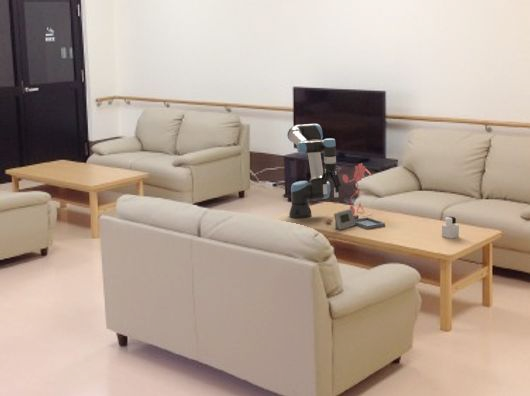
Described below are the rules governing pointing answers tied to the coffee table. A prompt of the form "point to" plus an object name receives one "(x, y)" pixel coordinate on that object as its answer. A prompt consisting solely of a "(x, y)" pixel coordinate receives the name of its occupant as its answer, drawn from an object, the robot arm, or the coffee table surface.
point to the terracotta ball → (328, 220)
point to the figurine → (360, 170)
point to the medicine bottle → (450, 228)
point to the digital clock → (344, 219)
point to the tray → (368, 223)
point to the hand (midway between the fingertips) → (330, 195)
